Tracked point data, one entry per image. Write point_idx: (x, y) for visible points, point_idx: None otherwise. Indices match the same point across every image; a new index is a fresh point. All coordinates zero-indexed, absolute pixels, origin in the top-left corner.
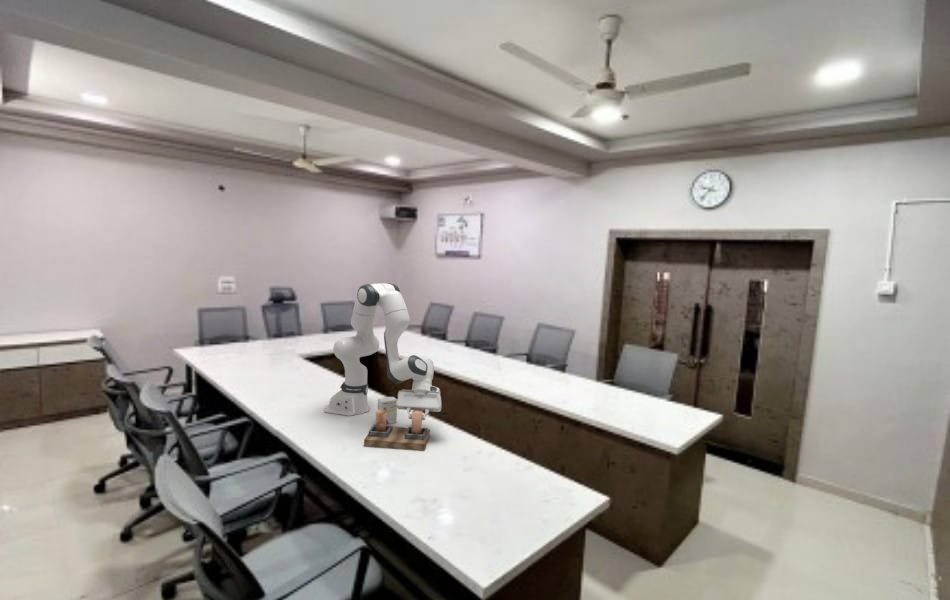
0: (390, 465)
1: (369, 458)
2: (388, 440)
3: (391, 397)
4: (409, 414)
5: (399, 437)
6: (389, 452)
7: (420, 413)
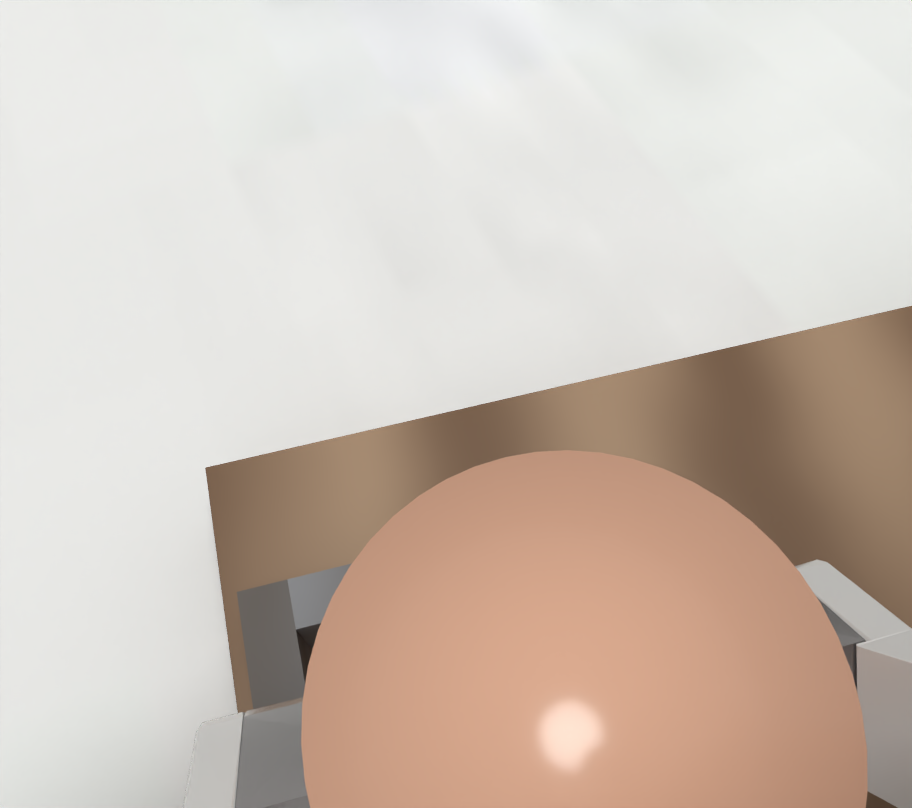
0: (482, 52)
1: (781, 92)
2: (833, 355)
3: None
4: (859, 616)
5: None
6: (673, 283)
7: (343, 589)
